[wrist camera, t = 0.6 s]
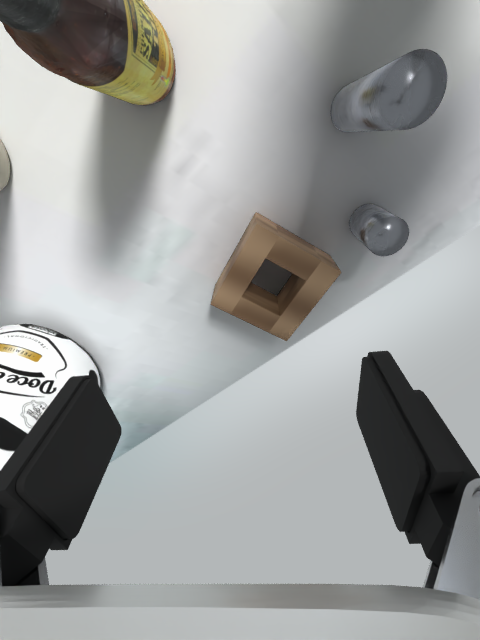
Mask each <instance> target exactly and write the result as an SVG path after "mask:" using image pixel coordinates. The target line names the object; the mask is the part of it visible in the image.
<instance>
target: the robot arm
mask: <svg viewBox="0 0 480 640" xmlns="http://www.w3.org/2000/svg"><path fill="white" fill-rule="evenodd" d="M356 415H357V421H358V424H359V427H360V429H361V432H362V435H363V437H364V440H365V443H366V446H367V448H368V451H369V454H370V456H371V459H372V462H373V464H374V467H375V470H376V473H377V475H378V478H379V481H380V484H381V486H382V489H383V492H384V495H385V497H386V500H387V503H388V506H389V508H390V511H391V514H392V516H393V519H394V522H395V524H396V527H397V529H398V530H399V531H400V532H401V531H403V532H404V531H405V534H406V536H407V539H408V542H409V544H418V543H419V544H420V543H421V545H422V547H423V550H424V552H425V555H426V557H427V558H428V559H430V560H431V562H430V565H429V568H428V572H427V575H426V579H425V582H424V585H423V588H421V587H408V586H395V585H354V584H120V585H119V584H117V585H116V584H113V585H49V581H48V575H47V568H46V562H45V555H46V553H47V551H48V549H49V548H50V549H51V550H68V548H69V545H70V543H71V541H72V539H73V538H75V537H76V536H77V534H78V533H79V531H80V529H81V526H82V524H83V522H84V519H85V517H86V515H87V512H88V510H89V508H90V506H91V503H92V501H93V499H94V496H95V494H96V492H97V489H98V487H99V485H100V483H101V480H102V478H103V476H104V473H105V471H106V469H107V466H108V464H109V462H110V459H111V457H112V455H113V453H114V450H115V448H116V446H117V443H118V441H119V439H120V436H121V426H120V424H119V422H118V420H117V418H116V416H115V415H114V413H113V411H112V409H111V407H110V405H109V403H108V402H107V400H106V398H105V396H104V394H103V392H102V391H101V389H100V387H99V385H98V383H97V381H96V380H95V379H92V377H91V376H89V375H84V376H73V377H70V378H69V379H68V381H67V382H66V383H65V385H64V386H63V387H62V389H61V390H60V391H59V393H58V394H57V395H56V397H55V398H54V399H53V401H52V402H51V403H50V405H49V406H48V407H47V409H46V410H45V411H44V413H43V414H42V415H41V417H40V418H39V419H38V421H37V422H36V423H35V425H34V426H33V427H32V429H31V430H30V431H29V433H28V434H27V435H26V437H25V438H24V439H23V441H22V442H21V444H20V445H19V446H18V448H17V449H16V450H15V452H14V453H13V454H12V456H11V457H10V458H9V460H8V461H7V462H6V464H5V465H4V466H3V468H2V469H1V470H0V640H480V476H479V474H478V473H477V471H476V470H475V468H474V467H473V466H472V464H471V462H470V461H469V459H468V458H467V456H466V455H465V453H464V452H463V450H462V449H461V447H460V446H459V444H458V443H457V441H456V440H455V438H454V437H453V435H452V434H451V432H450V431H449V429H448V428H447V426H446V425H445V423H444V422H443V420H442V419H441V417H440V416H439V414H438V413H437V411H436V410H435V408H434V407H433V405H432V404H431V402H430V401H429V399H428V398H427V396H426V395H425V394H424V392H422V391H421V390H413V389H412V387H411V386H410V384H409V382H408V381H407V379H406V378H405V376H404V374H403V373H402V371H401V370H400V368H399V367H398V365H397V363H396V362H395V360H394V359H393V357H392V355H391V354H390V353H389V352H388V351H378V352H369V353H368V356H367V357H363V359H362V365H361V375H360V383H359V392H358V402H357V411H356Z"/></svg>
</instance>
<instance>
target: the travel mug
mask: <svg viewBox="0 0 480 640" xmlns="http://www.w3.org/2000/svg"><path fill="white" fill-rule="evenodd" d="M9 177H10V163H9V158H8V155H7V152H6V149H5V147H4V145H3V143H2V141H1V140H0V191H1V190H2V189H3V188H4V187H5V186H6V185H7V183H8V180H9Z"/></svg>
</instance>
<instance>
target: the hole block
mask: <svg viewBox="0 0 480 640" xmlns="http://www.w3.org/2000/svg"><path fill="white" fill-rule="evenodd" d="M265 258H266V259H268V260H269V261H271V262H273V263H275V264H277V265H279V266H280V267H282V268H284V269H286V270H288V271H289V272H291V273H293V274H292V275H291V277H290V278H289V280H288V281H287V282H286V284H285V285H284V287H283V288H282V290H281V291H280V292H279V294H278V295H277V296H276V295H274V294H272V293H270V292H268V291H267V290H265V289H263V288H261V287H259V286H257V285H255V284H253V283H251V281H252V279H253V277H254V276H255V274H256V273H257V271H258V269H259V268H260V266H261V265H262V263H263V262H264V260H265ZM340 274H341V271H340V270H339V268H338V267H337V265H336V264H335V262H334V261H333V259H332V257H331V256H330V255H328V254H327V253H325V252H323V251H322V250H320V249H318V248H317V247H315V246H313V245H311V244H310V243H308V242H306V241H305V240H303V239H301V238H300V237H298V236H296V235H294V234H293V233H291V232H289V231H288V230H286V229H284V228H283V227H281V226H279V225H277V224H276V223H274V222H272V221H271V220H269V219H267V218H266V217H264V216H262V215H260V214H259V213H257V212H255V214H254V216H253V218H252V220H251V221H250V223H249V225H248V227H247V229H246V230H245V232H244V234H243V236H242V238H241V239H240V241H239V243H238V245H237V247H236V248H235V250H234V252H233V254H232V256H231V257H230V259H229V261H228V263H227V265H226V266H225V268H224V270H223V272H222V274H221V275H220V277H219V279H218V281H217V283H216V284H215V288H214V292H213V296H212V300H211V305H213V306H215V307H217V308H219V309H221V310H223V311H225V312H227V313H229V314H231V315H233V316H235V317H237V318H240V319H242V320H244V321H246V322H248V323H250V324H252V325H254V326H256V327H258V328H260V329H262V330H264V331H266V332H269V333H271V334H273V335H275V336H277V337H279V338H281V339H283V340H285V341H287V340H288V339H289V338H290V336H291V335H292V334H293V333H294V331H295V330H296V329H297V328H298V326H299V325H300V324H301V323H302V321H303V320H304V319H305V318H306V316H307V315H308V314H309V313H310V311H311V310H312V309H313V308H314V306H315V305H316V304H317V303H318V301H319V300H320V299H321V298H322V296H323V295H324V294H325V293H326V291H327V290H328V289H329V287H330V286H331V285H332V284H333V282H334V281H335V280H336V279H337V277H338V276H339V275H340Z"/></svg>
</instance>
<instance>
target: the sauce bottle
mask: <svg viewBox="0 0 480 640" xmlns="http://www.w3.org/2000/svg"><path fill="white" fill-rule="evenodd" d="M0 21H1V22H2V23H3V25H4V27H5V30H6V31H7V32H8V33H9V35H10V36H11V37H12V38H13V40H14V41H15V43H16V44H17V45H18V46H19V47H20V48H21V49H22V50H23V51H24V52H25V53H26V54H28V55H29V56H30V57H31V58H32V59H33V60H35V61H36V62H37V63H38V64H40V65H41V66H42V67H44V68H46V69H47V70H49V71H51V72H53V73H55V74H57V75H60V76H63V77H65V78H67V79H69V80H70V81H72V82H74V83H77V84H79V85H82V86H85V87H87V88H90V89H93V90H96V91H99V92H102V93H105V94H107V95H110V96H113V97H115V98H118V99H121V100H124V101H126V102H129V103H132V104H138V105H148V104H154V103H157V102H159V101H161V100H162V99H164V98H165V97H166V96H167V94H168V93H169V92H170V89H171V88H172V85H173V82H174V77H175V71H176V70H175V60H174V54H173V48H172V47H171V44H170V41H169V38H168V36H167V33H166V31H165V29H164V28H163V26H162V25H161V23H160V22H159V20H158V19H157V18H156V17H155V15H154V14H153V13H152V12H151V10H150V9H149V8H148V6H147V5H146V4H145V3H144V1H143V0H0Z"/></svg>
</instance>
